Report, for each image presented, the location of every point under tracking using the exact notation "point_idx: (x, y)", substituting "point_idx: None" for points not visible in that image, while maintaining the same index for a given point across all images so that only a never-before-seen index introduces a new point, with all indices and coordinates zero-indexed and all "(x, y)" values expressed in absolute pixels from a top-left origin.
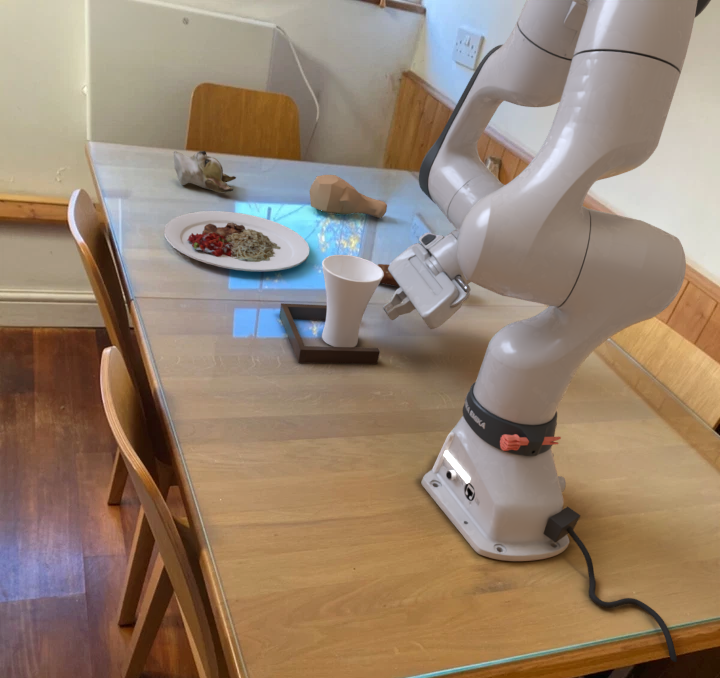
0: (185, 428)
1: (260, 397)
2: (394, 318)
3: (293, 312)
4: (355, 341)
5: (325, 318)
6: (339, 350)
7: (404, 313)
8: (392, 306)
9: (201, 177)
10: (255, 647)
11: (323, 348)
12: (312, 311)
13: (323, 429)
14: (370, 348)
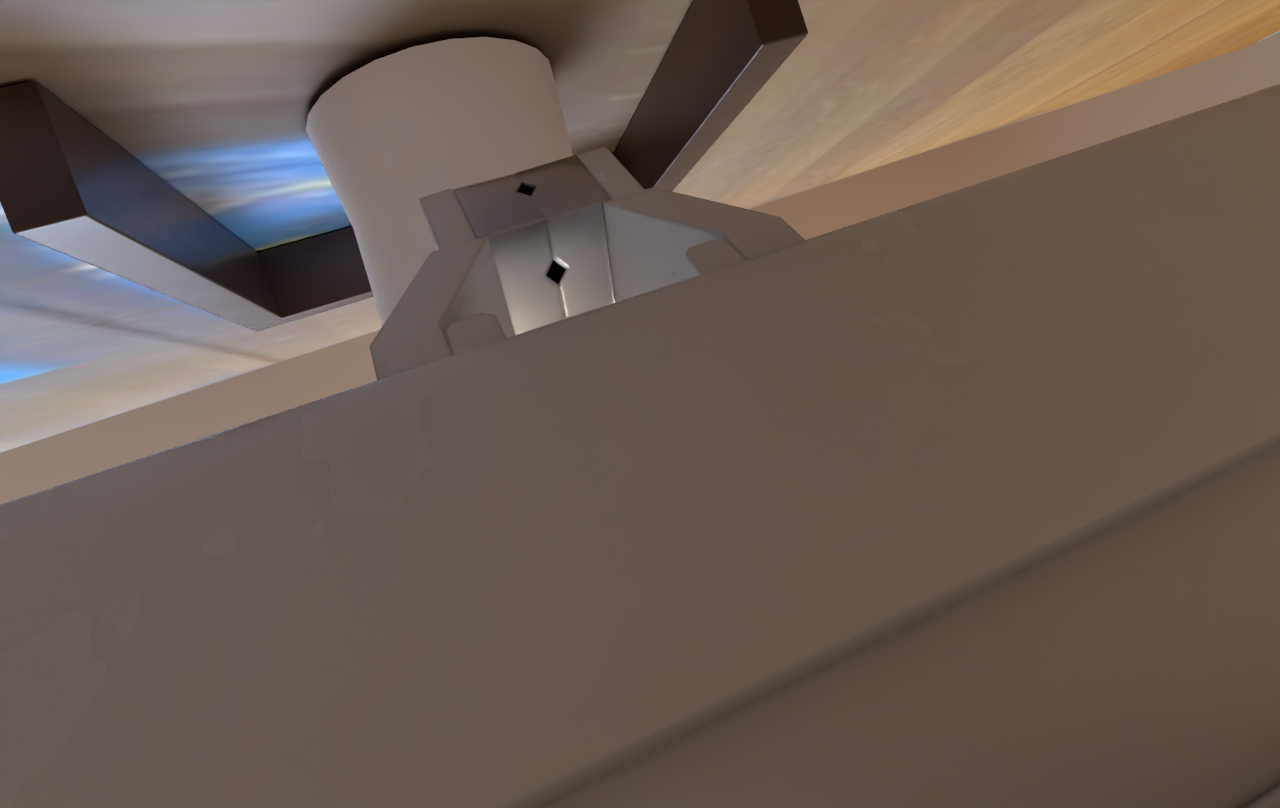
0: (791, 192)
1: (767, 161)
2: (612, 160)
3: (260, 282)
4: (537, 82)
5: (176, 201)
6: (704, 152)
7: (708, 208)
8: (599, 303)
9: None
10: (1200, 58)
11: (670, 184)
12: (230, 271)
13: (984, 58)
14: (749, 74)
